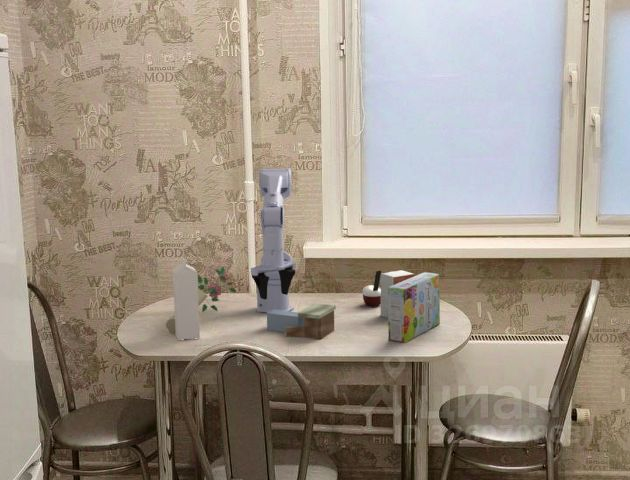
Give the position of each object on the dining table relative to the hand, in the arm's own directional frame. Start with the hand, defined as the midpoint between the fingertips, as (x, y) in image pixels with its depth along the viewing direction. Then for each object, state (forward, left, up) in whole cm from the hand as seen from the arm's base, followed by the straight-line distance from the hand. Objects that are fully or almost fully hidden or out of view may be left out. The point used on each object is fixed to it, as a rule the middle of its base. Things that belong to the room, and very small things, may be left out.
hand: (274, 296), depth 225 cm
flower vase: (-26, 0, -10) cm, 28 cm away
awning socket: (+12, 0, -9) cm, 15 cm away
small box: (+28, +26, -10) cm, 39 cm away
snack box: (+38, +12, -10) cm, 41 cm away
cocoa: (+17, +34, -10) cm, 39 cm away
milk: (-18, -17, -10) cm, 27 cm away
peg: (+4, 0, -10) cm, 10 cm away
